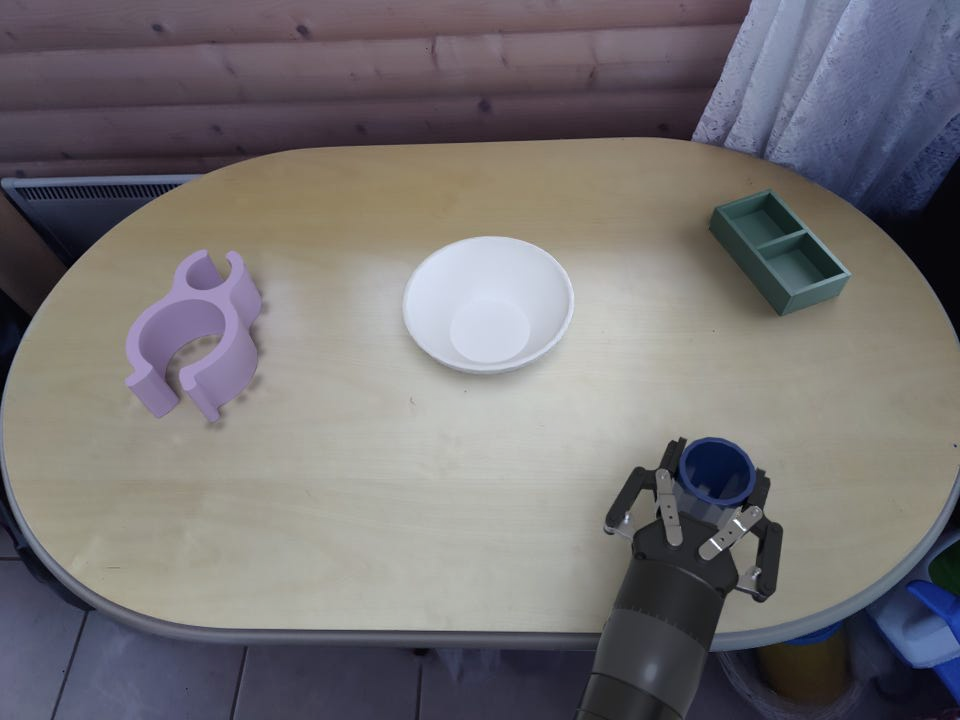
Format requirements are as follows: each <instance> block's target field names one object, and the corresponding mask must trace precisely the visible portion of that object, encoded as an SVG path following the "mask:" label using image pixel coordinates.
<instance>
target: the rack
mask: <svg viewBox="0 0 960 720" xmlns="http://www.w3.org/2000/svg"><path fill="white" fill-rule="evenodd" d="M708 230H709V231H710V232H711V233H712V235H713V236H714V237H715V238H716V240H717V241H718V242H719V243H720V244H721V245H722V247H723V248H724V249H725V250H726V252H727V253H728V255H730V257H731V258H732V259H733V260H734V262H735V263H736V264H737V265H738V266H739V268H741V270H742V271H743V272H744V274H745V275H746V276H747V277H748V278H749V280H750V281H751V282H752V283H753V284H754V286H755V287H756V288H757V289H758V290H759V292H760V293H761V294H762V296H763V297H764V298H765V299H766V300H767V302H768V303H769V304H770V305H771V307H772V308H773V309H774V310H775V311H776V312H777V313H778V315H779V316H780V317H782V316H783V317H784V316H786V315H789V314H791V313H794V312H797V311H799V310H802V309H805V308H807V307H810V306H813V305H817V304H818V303H821V302H824V301H827V300H830V299H832V298H835V297H838V296H840V295H841V293H842V292H843V290H844V289H845V287H846V285H847V284H848V282H849V280H850V278H851V277H852V275H853V274H852V273H851V272H850V271H849V269H848V268H847V267H845V265H844V263H843V264H842V262H841V261H840V259H838V258H837V257H836V256H835V255H834V253H833V252H831V251H830V249H829V248H827V246H826V245H825V244H824V243H823V242H822V241H821V240H820V239H819V237H817V236H816V235H815V234H814V233H813V232H812V230H811V229H810V228H809V227H808V226H807V225H806V224H805V223H804V222H803V221H802V220H801V219H800V218H799V217H798V215H797V214H795V212H794V211H793V210H792V209H791V208H790V207H789V206H788V204H786V203H785V202H784V200H783V199H781V197H780V196H778V194H777V193H776V192H775V191H774V190H773V189H772V188H768V189H765V190H763V191H760V192H756V193H753V194H751V195H748V196H744V197H741V198H738V199H735V200H732V201H728V202H726V203H723V204H720V205H717V206H714V208H713V212H712V215H711V218H710V221H709V224H708Z"/></svg>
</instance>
